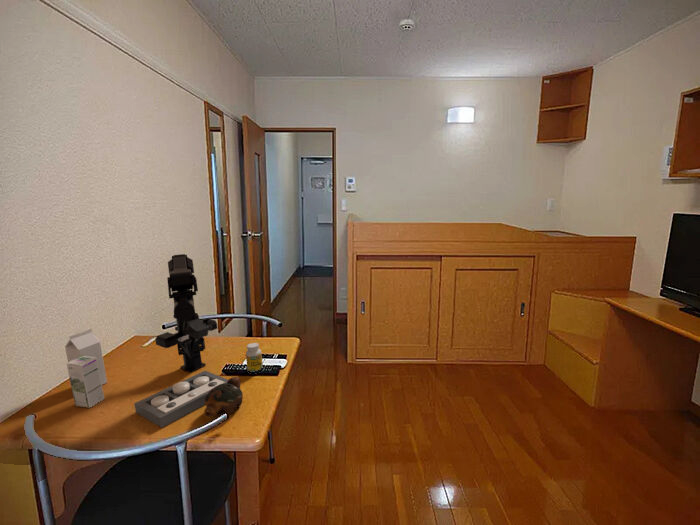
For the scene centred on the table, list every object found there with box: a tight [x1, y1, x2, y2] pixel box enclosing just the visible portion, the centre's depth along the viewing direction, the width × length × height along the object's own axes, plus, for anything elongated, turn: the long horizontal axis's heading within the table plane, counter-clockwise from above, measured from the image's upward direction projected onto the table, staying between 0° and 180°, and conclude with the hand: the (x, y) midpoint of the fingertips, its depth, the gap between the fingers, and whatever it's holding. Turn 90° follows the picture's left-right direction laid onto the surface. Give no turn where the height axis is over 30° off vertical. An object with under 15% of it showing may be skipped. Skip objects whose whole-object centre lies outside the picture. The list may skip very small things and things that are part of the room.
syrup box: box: [66, 356, 105, 409], centre depth 123 cm, size 6×6×14 cm
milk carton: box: [64, 328, 108, 386], centre depth 133 cm, size 7×7×19 cm
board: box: [134, 370, 229, 428], centre depth 123 cm, size 14×24×4 cm, turn 145°
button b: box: [172, 381, 190, 395], centre depth 124 cm, size 5×5×2 cm
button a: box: [151, 395, 169, 408], centre depth 119 cm, size 5×5×2 cm
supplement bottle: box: [245, 342, 264, 372], centre depth 141 cm, size 5×5×10 cm
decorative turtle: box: [203, 376, 244, 418], centre depth 117 cm, size 10×15×8 cm, turn 167°
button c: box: [193, 376, 209, 387], centre depth 130 cm, size 5×5×2 cm
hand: (190, 357), depth 130 cm, fingers closed
